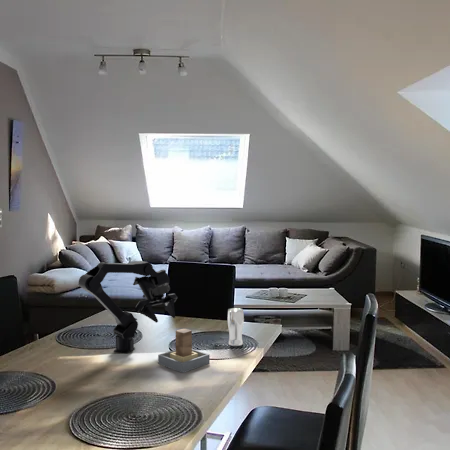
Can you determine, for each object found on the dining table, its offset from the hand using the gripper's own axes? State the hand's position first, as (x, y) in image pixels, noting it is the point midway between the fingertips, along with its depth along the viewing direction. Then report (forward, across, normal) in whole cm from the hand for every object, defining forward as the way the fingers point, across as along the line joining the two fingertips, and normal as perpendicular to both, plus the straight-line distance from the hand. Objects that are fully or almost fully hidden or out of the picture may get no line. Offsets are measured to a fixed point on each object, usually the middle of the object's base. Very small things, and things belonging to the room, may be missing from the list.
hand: (166, 319), depth 223 cm
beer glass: (+19, +28, 0) cm, 34 cm away
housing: (+20, -4, -1) cm, 21 cm away
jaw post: (+20, -4, -2) cm, 20 cm away
